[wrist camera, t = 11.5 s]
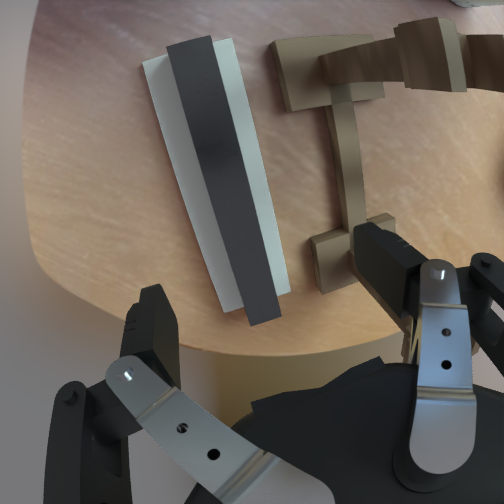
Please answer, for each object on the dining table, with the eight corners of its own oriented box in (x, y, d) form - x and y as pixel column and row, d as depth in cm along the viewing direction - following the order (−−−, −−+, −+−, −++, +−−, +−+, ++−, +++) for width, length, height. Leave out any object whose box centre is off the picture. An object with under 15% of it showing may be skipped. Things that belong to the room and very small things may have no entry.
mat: (143, 63, 19) (142, 62, 18) (230, 39, 19) (231, 37, 19) (223, 309, 31) (224, 313, 30) (289, 288, 31) (290, 291, 31)
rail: (168, 54, 19) (166, 46, 16) (207, 43, 19) (210, 35, 16) (244, 307, 30) (250, 326, 28) (273, 297, 31) (281, 316, 28)
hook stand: (269, 44, 20) (397, -25, 6) (363, 37, 21) (517, 16, 6) (317, 286, 32) (398, 409, 18) (387, 260, 32) (484, 355, 18)
